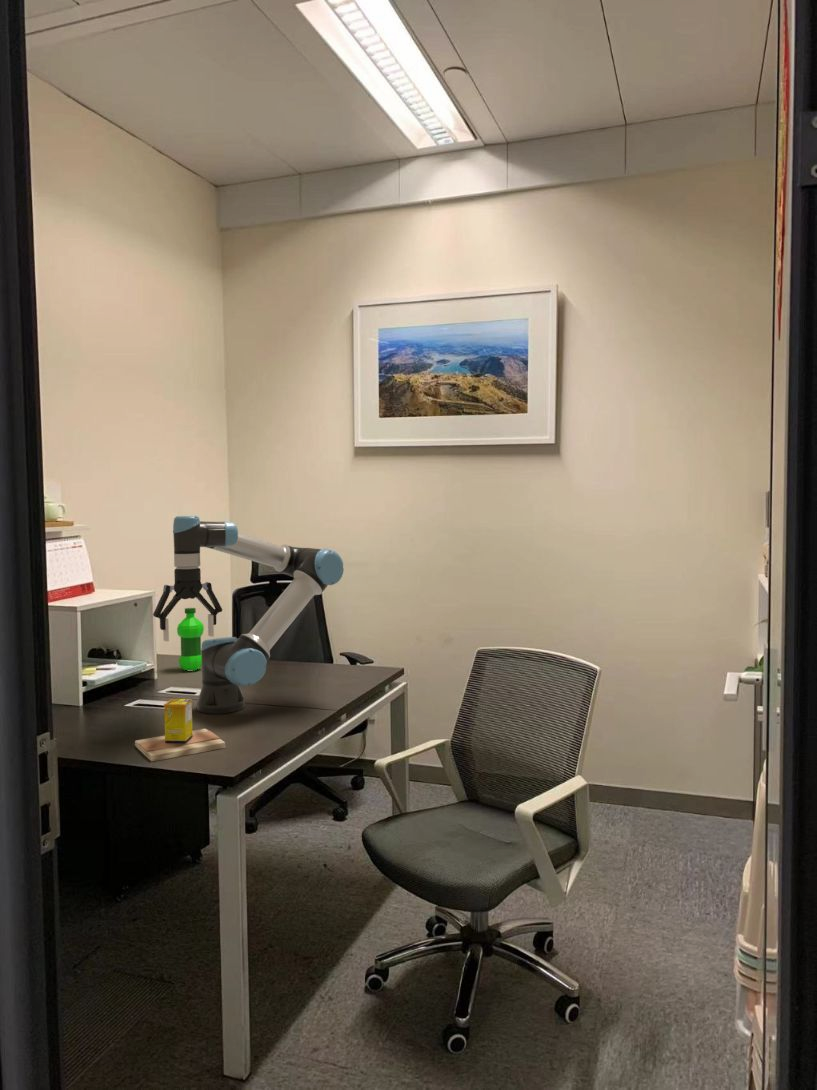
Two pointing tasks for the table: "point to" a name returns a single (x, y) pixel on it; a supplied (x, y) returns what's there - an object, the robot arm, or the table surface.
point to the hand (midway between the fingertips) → (189, 638)
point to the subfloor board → (179, 745)
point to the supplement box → (178, 720)
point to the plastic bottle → (190, 641)
